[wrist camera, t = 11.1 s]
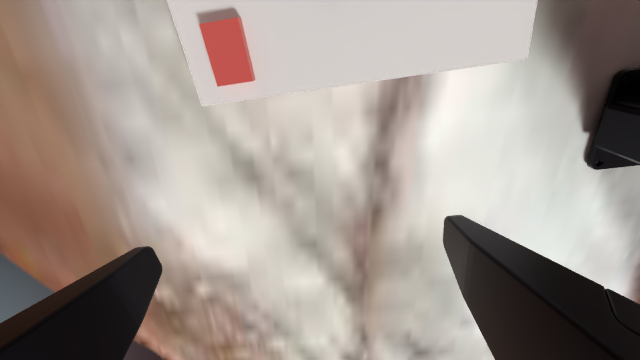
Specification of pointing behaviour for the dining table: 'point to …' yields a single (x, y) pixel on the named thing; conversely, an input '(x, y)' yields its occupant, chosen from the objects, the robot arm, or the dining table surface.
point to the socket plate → (340, 41)
